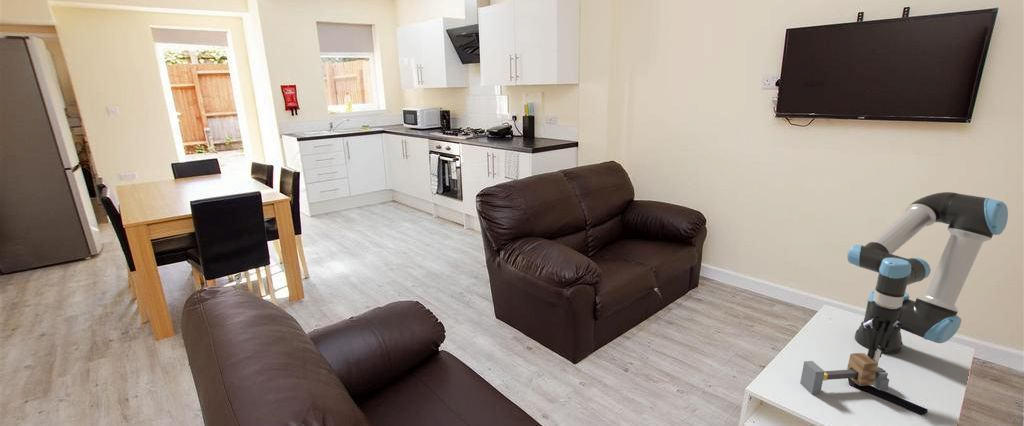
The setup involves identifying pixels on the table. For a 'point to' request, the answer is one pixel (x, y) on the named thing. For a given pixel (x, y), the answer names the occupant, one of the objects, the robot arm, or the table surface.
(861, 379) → the wooden block on rod
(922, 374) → the table surface
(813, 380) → the rod rig
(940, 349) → the table surface
